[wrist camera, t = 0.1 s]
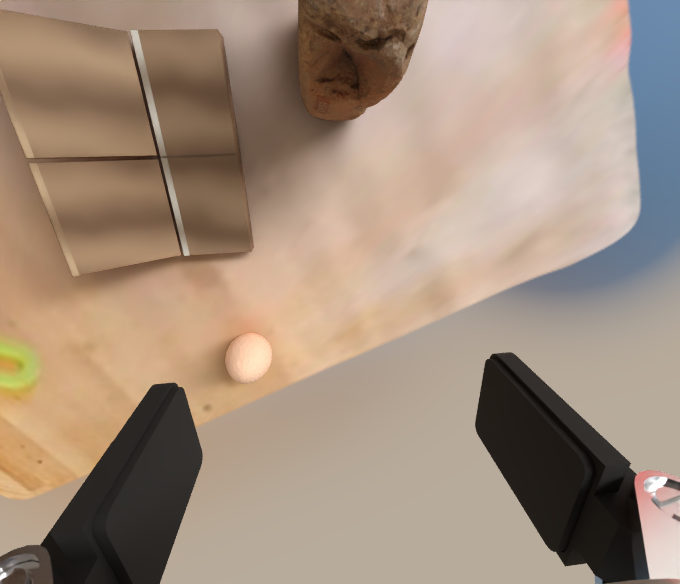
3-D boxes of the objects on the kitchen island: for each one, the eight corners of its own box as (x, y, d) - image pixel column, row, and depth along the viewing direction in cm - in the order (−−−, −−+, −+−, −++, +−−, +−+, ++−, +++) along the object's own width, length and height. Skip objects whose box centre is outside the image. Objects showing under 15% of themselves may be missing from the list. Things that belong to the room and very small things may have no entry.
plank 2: (29, 163, 28) (27, 163, 27) (153, 159, 34) (158, 159, 32) (71, 272, 32) (72, 276, 31) (176, 251, 38) (181, 255, 36)
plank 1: (-30, 12, 24) (-35, 3, 22) (123, 38, 30) (127, 31, 28) (27, 158, 28) (25, 158, 26) (152, 155, 34) (157, 155, 32)
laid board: (141, 38, 30) (129, 30, 28) (223, 37, 31) (217, 29, 29) (190, 251, 38) (183, 255, 36) (254, 247, 39) (251, 251, 37)
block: (302, -8, 30) (292, -273, 12) (379, 5, 31) (482, -223, 13) (297, 120, 34) (284, 74, 16) (365, 128, 35) (428, 93, 17)
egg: (238, 362, 45) (225, 399, 38) (227, 327, 43) (211, 360, 36) (278, 355, 45) (273, 391, 38) (269, 320, 43) (261, 351, 36)
